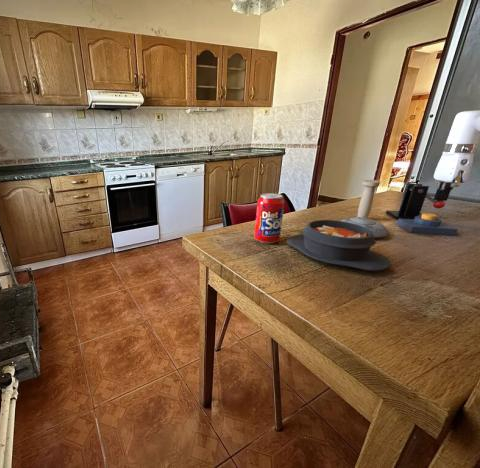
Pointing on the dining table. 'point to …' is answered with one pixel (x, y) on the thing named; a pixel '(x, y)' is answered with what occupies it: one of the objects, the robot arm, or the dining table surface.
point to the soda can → (269, 218)
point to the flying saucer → (369, 225)
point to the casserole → (339, 245)
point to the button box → (427, 226)
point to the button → (428, 216)
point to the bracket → (411, 202)
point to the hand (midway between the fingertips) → (440, 200)
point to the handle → (367, 197)
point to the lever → (433, 200)
